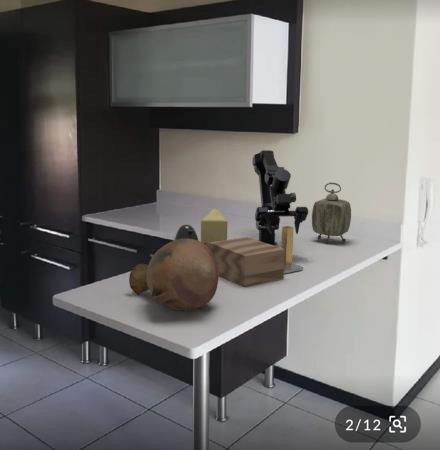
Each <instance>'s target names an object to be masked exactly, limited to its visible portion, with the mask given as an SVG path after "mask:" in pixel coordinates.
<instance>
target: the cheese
mask: <svg viewBox="0 0 440 450" xmlns="http://www.w3.org/2000/svg"><path fill="white" fill-rule="evenodd" d="M223 240H228V220H227V219H226V217H225V216H224V214H223V213H221V211H220V210H219V209H217V208H213V209H211V210H210V211H209V213H208V214H207V215H206V216H205V217H204V218H202V219H201V220H200V242H202V243H208V244H209V243H210V242H217V241H223Z"/></svg>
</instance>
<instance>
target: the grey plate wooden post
mask: <svg viewBox="0 0 440 450" xmlns="http://www.w3.org/2000/svg"><path fill="white" fill-rule="evenodd" d="M280 241H281V242H280V243H281V245H280V248H283V249H285V254H284V275H285V274H289V273H294V272H298V271H303V270H304V266H302V265H299V264H296V263H293V248H294V247H293V246H294V245H293V244H294V226H289V225H286V226H285V225H284V226H281V240H280Z"/></svg>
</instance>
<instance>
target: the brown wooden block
mask: <svg viewBox="0 0 440 450" xmlns="http://www.w3.org/2000/svg"><path fill="white" fill-rule="evenodd" d="M209 246H210V247H211V252H212V253H213V255H214V257H215V259H216V262H217V266H218V277H221V278H223V279H226V280H228V281H230V282H232V283H234V284H236V285H238V286H241V287H244V288H247V287H252V286H256V285H260V284H266V283H270V282H274V281H279V280H280V281H281V280H284V275H285V274H284V254H285V249H283V248H281V246H280V247H279V246H276V245H274V244H273V245H270V244H267V243H264V242H261V241H259V239H258V240H256V239H255V238H251V237H248V236H245V237H244V236H243V237H237V238H233V239H227V240H223V241H217V242H210V243H209Z"/></svg>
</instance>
